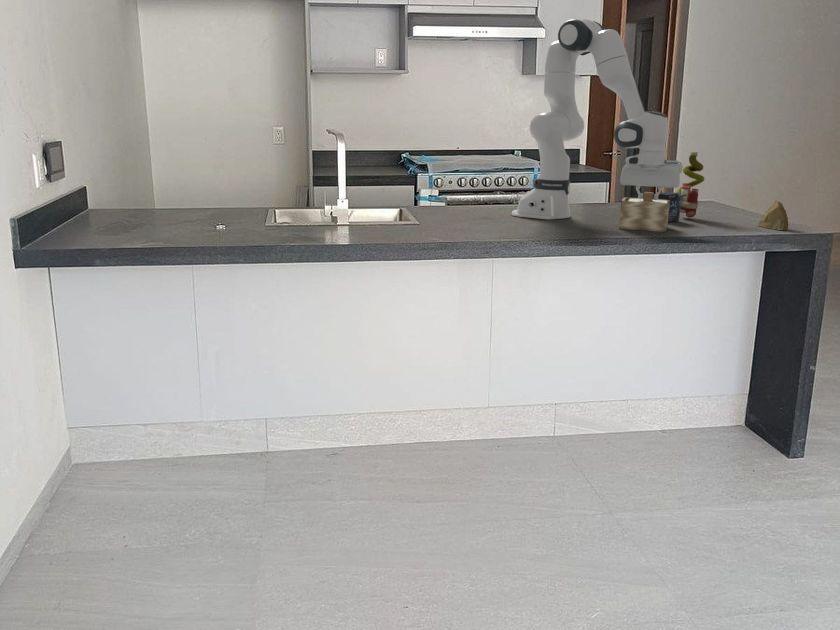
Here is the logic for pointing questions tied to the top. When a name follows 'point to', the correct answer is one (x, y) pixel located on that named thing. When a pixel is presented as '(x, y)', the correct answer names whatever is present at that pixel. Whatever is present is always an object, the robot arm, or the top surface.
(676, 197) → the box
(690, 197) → the snake in a can
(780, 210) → the rock
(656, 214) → the birch box
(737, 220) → the top surface
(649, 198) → the lid
